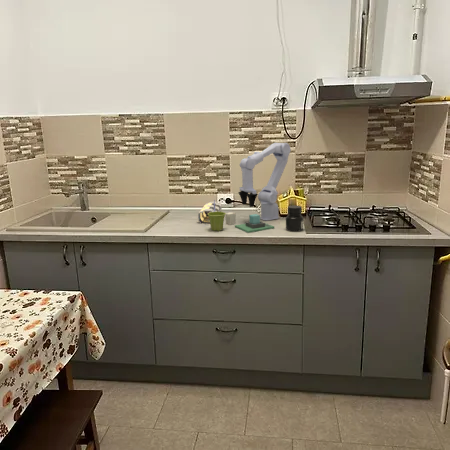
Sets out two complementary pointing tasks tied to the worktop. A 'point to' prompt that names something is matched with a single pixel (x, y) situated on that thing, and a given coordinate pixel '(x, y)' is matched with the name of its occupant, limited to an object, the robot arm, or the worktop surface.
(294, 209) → the ink bottle
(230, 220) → the offwhite plug
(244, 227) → the board
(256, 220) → the teal plug
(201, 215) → the yellow striped curved piece
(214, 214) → the plant pot
